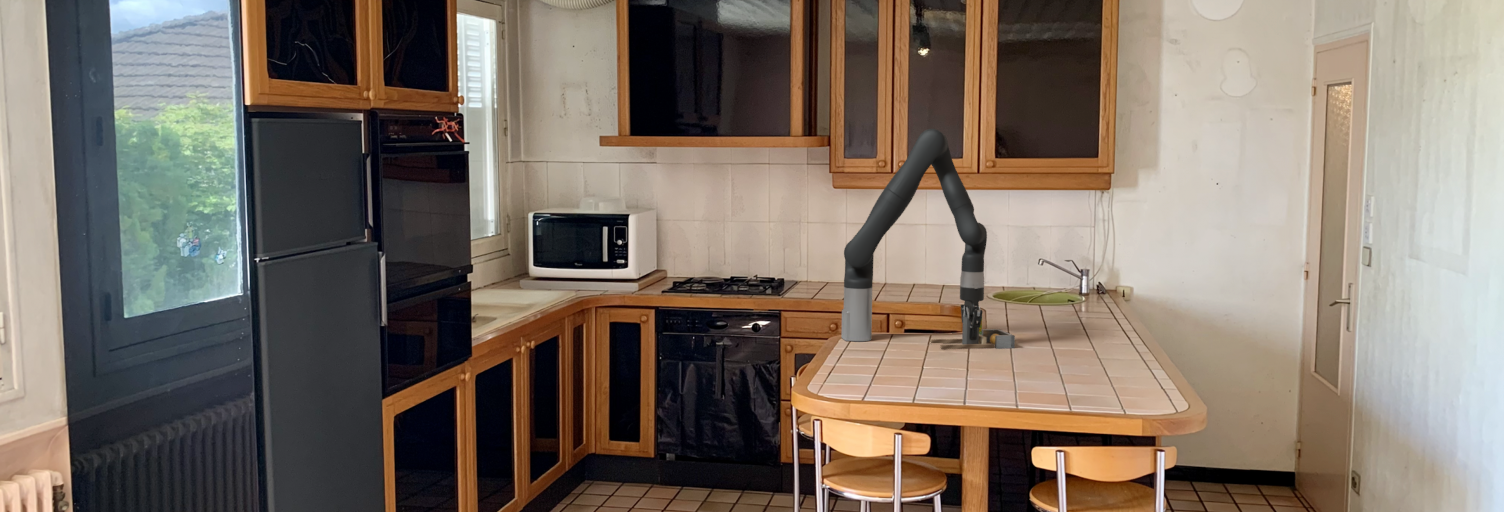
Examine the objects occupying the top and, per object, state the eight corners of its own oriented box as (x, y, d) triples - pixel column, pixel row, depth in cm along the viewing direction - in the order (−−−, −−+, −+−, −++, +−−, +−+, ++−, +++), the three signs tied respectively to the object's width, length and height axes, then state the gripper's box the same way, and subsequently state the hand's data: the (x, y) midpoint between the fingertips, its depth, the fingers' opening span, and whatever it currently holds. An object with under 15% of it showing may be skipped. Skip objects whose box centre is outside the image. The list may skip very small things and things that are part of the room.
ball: (1002, 345, 370) (992, 345, 369) (998, 343, 373) (987, 343, 373) (1003, 334, 369) (992, 334, 369) (999, 332, 373) (988, 332, 372)
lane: (941, 349, 362) (941, 345, 362) (930, 343, 373) (930, 339, 373) (994, 348, 365) (994, 344, 365) (981, 342, 376) (981, 338, 376)
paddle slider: (968, 347, 366) (968, 319, 365) (960, 343, 373) (961, 315, 372) (986, 346, 367) (987, 318, 366) (978, 342, 374) (979, 315, 373)
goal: (996, 348, 364) (996, 336, 364) (981, 341, 377) (981, 329, 377) (1014, 348, 365) (1014, 335, 365) (999, 341, 378) (999, 329, 378)
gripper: (953, 282, 374) (951, 335, 376) (968, 288, 360) (967, 342, 362) (975, 282, 375) (973, 334, 377) (991, 288, 361) (989, 342, 363)
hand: (970, 338), depth 370 cm, fingers closed on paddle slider, 4 cm apart
